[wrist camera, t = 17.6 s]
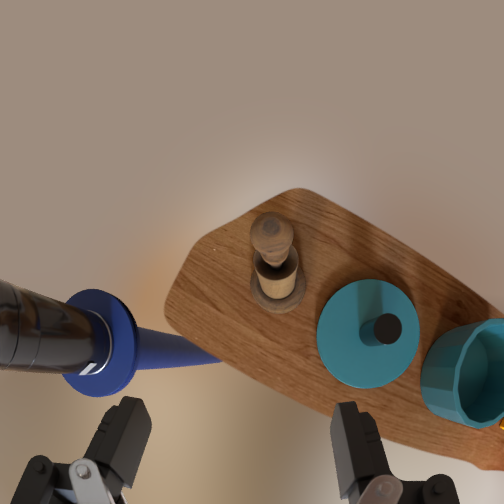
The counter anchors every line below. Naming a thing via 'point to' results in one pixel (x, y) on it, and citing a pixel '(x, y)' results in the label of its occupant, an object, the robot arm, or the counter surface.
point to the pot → (466, 374)
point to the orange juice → (502, 424)
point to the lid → (368, 333)
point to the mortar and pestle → (275, 264)
